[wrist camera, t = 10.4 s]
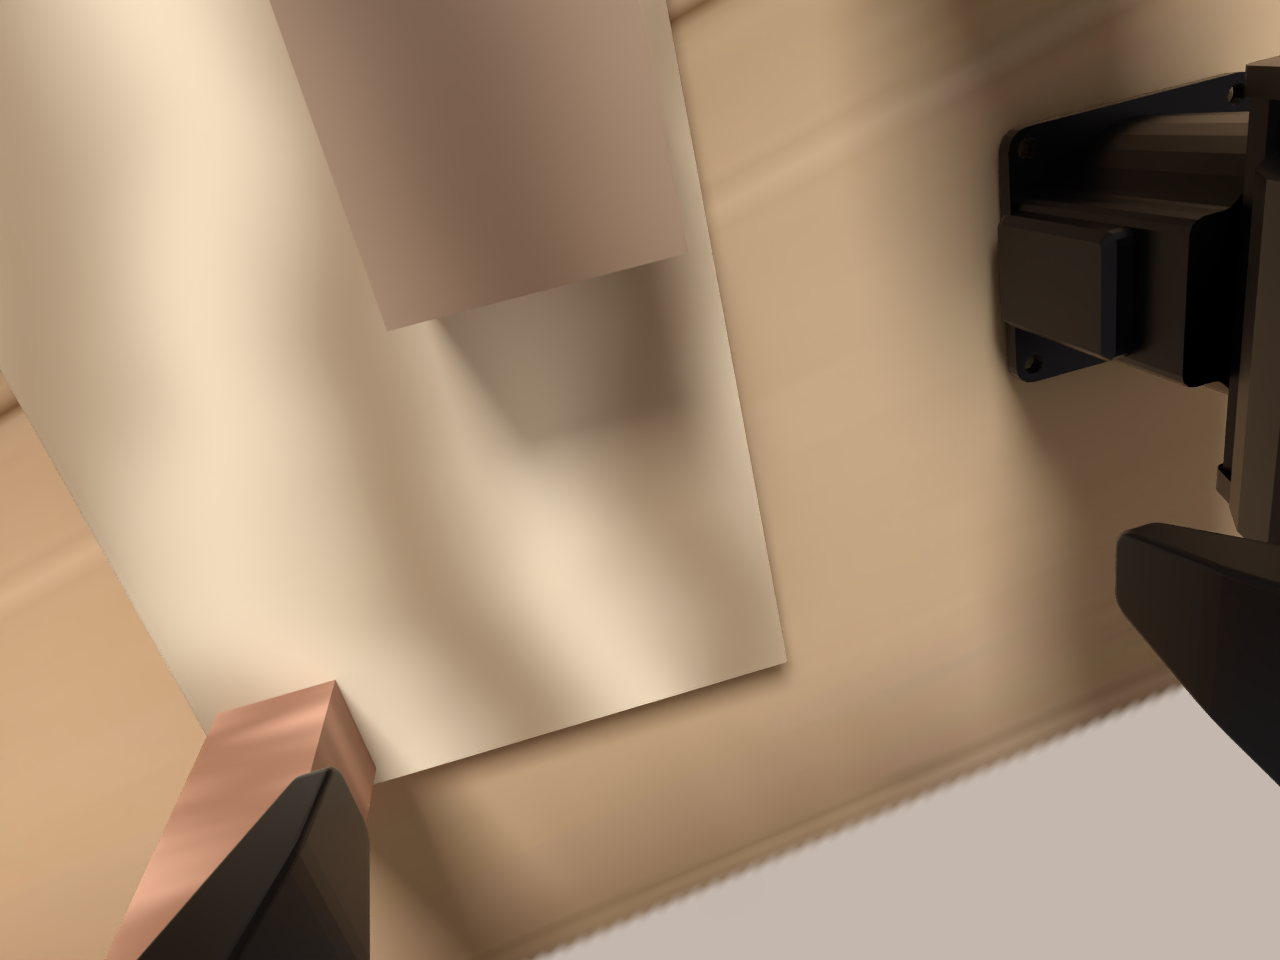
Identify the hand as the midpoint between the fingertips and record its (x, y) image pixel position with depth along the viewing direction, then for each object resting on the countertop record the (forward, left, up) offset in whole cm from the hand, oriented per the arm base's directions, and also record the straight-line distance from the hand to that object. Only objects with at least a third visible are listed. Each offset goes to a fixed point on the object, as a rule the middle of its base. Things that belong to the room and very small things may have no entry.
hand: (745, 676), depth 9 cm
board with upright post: (+4, 0, -13) cm, 14 cm away
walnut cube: (+1, -6, -11) cm, 13 cm away
